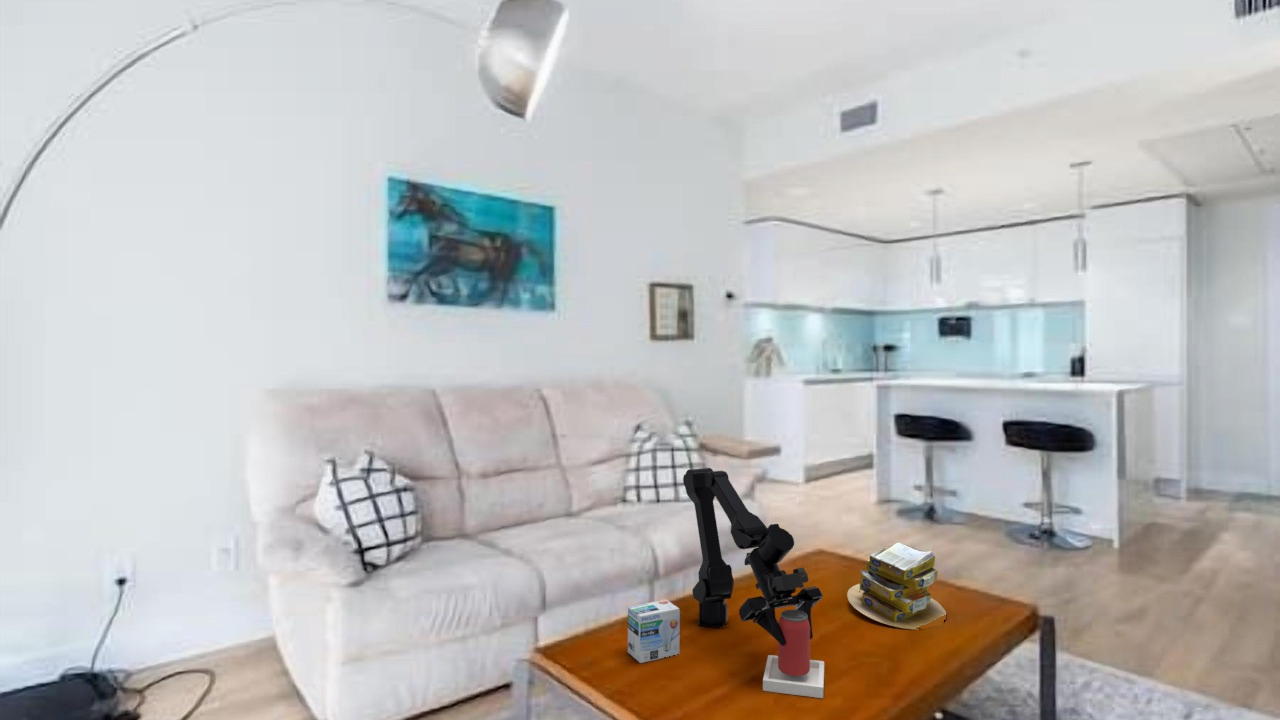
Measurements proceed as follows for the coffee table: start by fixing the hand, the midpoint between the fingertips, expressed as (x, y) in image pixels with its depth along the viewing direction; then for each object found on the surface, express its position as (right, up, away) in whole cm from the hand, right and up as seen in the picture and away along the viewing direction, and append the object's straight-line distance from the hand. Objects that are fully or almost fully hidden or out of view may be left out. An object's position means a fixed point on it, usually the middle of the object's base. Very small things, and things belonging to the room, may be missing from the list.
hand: (797, 641), depth 147 cm
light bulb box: (-30, -9, +15) cm, 34 cm away
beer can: (-1, -7, +1) cm, 7 cm away
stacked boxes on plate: (+35, -8, +40) cm, 53 cm away
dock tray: (0, -9, +1) cm, 9 cm away
